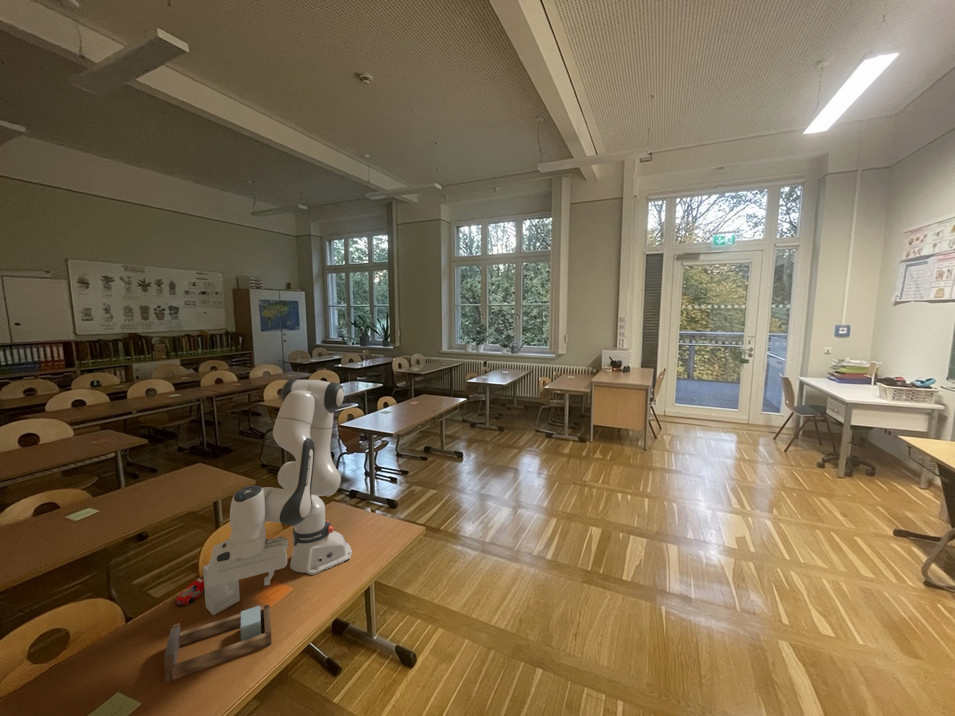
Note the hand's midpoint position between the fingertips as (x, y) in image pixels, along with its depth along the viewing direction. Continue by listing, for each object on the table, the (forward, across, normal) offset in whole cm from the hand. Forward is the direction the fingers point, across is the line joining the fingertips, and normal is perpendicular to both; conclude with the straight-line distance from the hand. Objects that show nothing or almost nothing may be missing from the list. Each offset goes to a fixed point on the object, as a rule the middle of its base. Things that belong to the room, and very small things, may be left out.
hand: (248, 589), depth 111 cm
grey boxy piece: (+15, 0, -1) cm, 15 cm away
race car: (+15, +15, -30) cm, 36 cm away
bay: (+15, +6, -1) cm, 16 cm away
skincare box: (+15, +8, -19) cm, 25 cm away
